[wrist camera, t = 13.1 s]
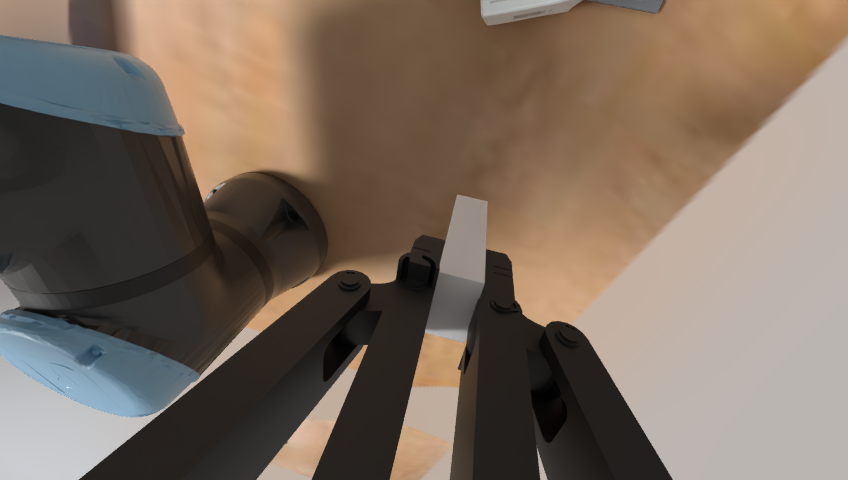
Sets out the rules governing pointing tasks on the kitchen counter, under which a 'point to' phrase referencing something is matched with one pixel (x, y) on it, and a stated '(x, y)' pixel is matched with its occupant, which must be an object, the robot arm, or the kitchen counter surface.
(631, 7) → the mat
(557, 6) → the small box
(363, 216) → the kitchen counter surface
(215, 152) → the kitchen counter surface
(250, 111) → the kitchen counter surface
